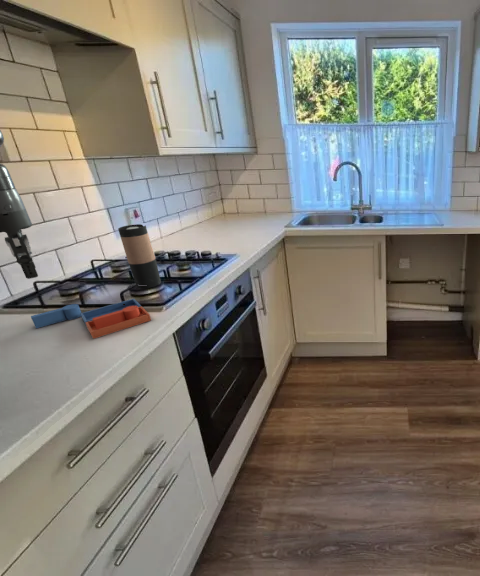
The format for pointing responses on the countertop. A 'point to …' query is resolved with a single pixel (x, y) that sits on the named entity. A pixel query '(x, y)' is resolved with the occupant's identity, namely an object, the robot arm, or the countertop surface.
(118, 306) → the blue tray
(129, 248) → the travel mug
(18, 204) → the robot arm
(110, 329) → the terracotta tray
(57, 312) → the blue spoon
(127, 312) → the orange elongated piece
